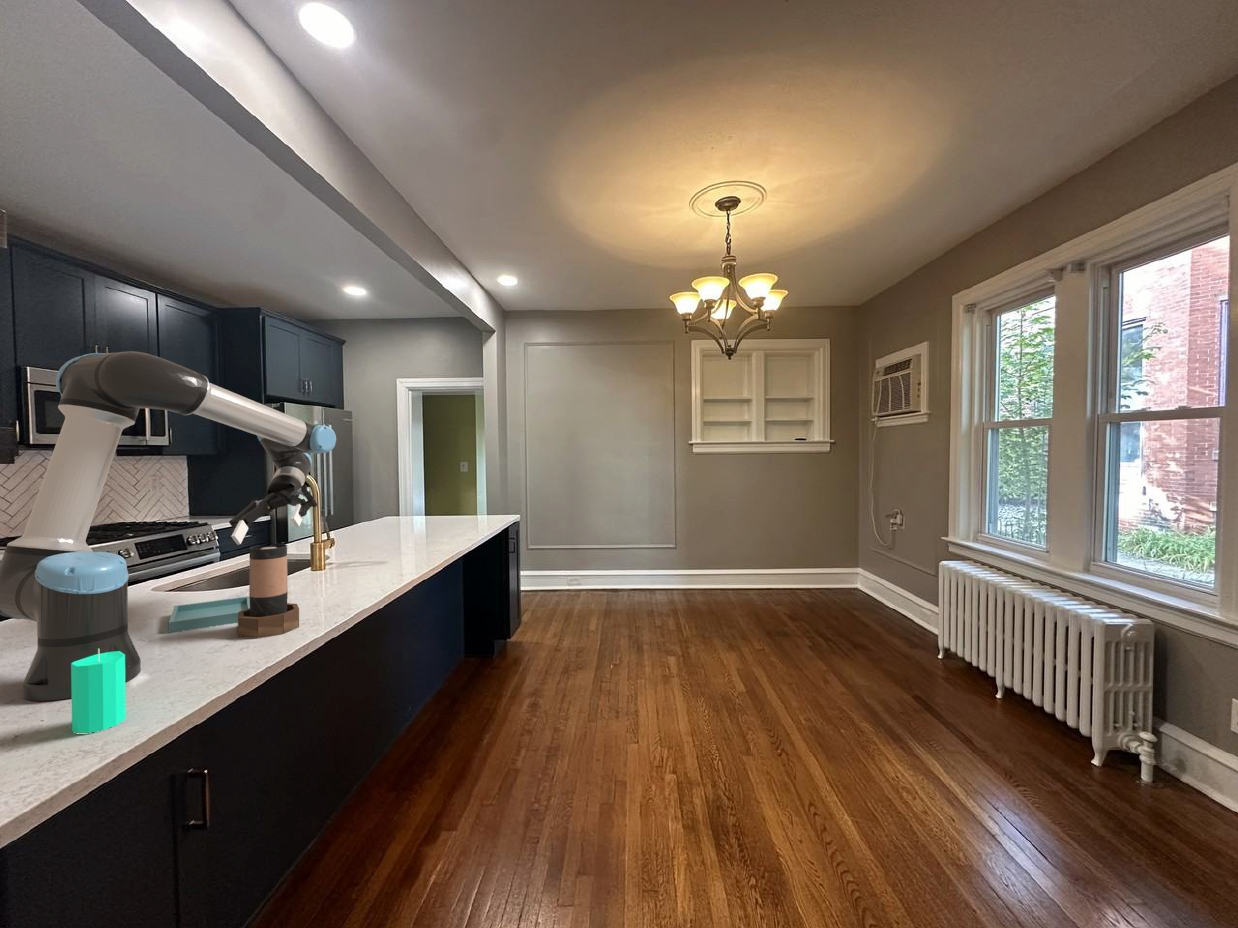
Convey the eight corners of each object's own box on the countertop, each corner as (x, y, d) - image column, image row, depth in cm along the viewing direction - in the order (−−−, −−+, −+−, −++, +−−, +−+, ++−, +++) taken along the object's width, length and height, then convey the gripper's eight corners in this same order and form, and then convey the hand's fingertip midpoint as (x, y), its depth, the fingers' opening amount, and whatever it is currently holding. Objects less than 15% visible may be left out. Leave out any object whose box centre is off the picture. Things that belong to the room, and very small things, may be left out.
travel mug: (273, 634, 122) (273, 549, 121) (241, 634, 122) (241, 549, 121) (294, 623, 129) (294, 543, 129) (264, 623, 129) (264, 543, 129)
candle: (75, 739, 77) (74, 659, 77) (69, 726, 81) (67, 649, 81) (129, 722, 82) (129, 647, 82) (121, 711, 86) (120, 638, 85)
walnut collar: (238, 641, 117) (238, 621, 117) (237, 626, 127) (237, 608, 127) (300, 630, 124) (300, 612, 124) (295, 617, 134) (295, 600, 134)
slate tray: (168, 632, 122) (168, 622, 122) (174, 615, 135) (174, 605, 135) (252, 620, 132) (252, 610, 132) (250, 605, 144) (250, 596, 144)
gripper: (339, 483, 147) (326, 527, 130) (245, 510, 143) (219, 559, 126) (327, 461, 143) (311, 503, 126) (230, 488, 139) (201, 535, 122)
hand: (265, 531), depth 126 cm, fingers open, 13 cm apart
